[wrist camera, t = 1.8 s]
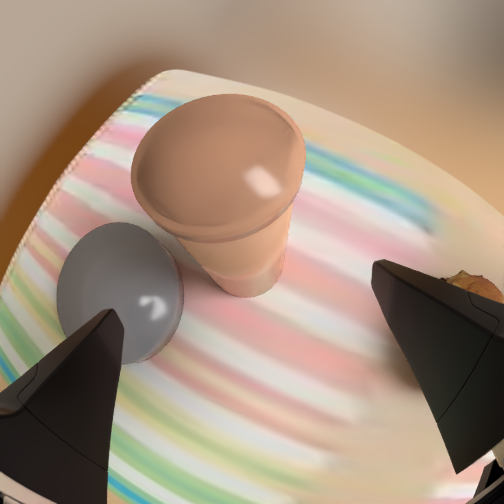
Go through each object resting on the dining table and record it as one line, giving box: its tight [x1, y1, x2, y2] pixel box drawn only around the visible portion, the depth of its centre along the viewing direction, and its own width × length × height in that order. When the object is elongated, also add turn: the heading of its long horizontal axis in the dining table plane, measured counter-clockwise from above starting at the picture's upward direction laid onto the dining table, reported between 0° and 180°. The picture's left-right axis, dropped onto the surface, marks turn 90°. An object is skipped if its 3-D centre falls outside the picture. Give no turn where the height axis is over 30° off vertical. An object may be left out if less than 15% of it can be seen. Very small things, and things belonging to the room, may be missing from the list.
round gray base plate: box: [57, 223, 184, 365], centre depth 19 cm, size 11×11×2 cm
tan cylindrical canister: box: [131, 94, 306, 298], centre depth 15 cm, size 6×6×13 cm
